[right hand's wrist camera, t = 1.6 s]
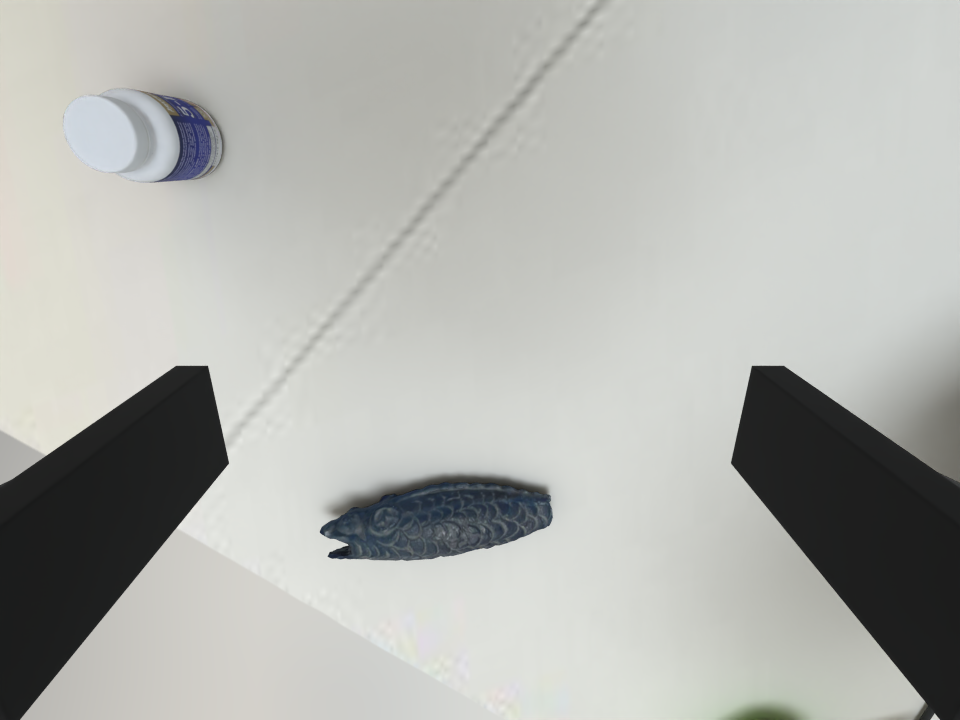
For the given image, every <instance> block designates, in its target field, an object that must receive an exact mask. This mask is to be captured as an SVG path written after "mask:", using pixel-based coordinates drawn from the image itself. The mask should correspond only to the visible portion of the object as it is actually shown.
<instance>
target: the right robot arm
mask: <svg viewBox="0 0 960 720" xmlns="http://www.w3.org/2000/svg"><path fill="white" fill-rule="evenodd" d="M228 464H229V461H228V456H227V452H226V447H225V442H224V438H223V433H222V429H221V424H220V419H219V415H218V410H217V405H216V401H215V396H214V392H213V387H212V382H211V378H210V373H209V368H208V366H175V367H174V368H172V369H171V370H170V371H168V372H167V373H165V374H164V375H162V376H161V377H159V378H158V379H157V380H155V381H154V382H152V383H151V384H149V385H148V386H146V387H145V388H144V389H142V390H141V391H139V392H138V393H136V394H135V395H133V396H132V397H131V398H129V399H128V400H126V401H125V402H123V403H122V404H120V405H119V406H118V407H116V408H115V409H113V410H112V411H110V412H109V413H107V414H106V415H105V416H103V417H102V418H100V419H99V420H97V421H96V422H94V423H93V424H92V425H90V426H89V427H87V428H86V429H84V430H83V431H81V432H80V433H79V434H77V435H76V436H74V437H73V438H71V439H70V440H68V441H67V442H66V443H64V444H63V445H61V446H60V447H58V448H57V449H55V450H54V451H53V452H51V453H50V454H48V455H47V456H45V457H44V458H42V459H41V460H40V461H38V462H37V463H35V464H34V465H32V466H31V467H30V468H28V469H27V470H25V471H24V472H22V473H21V474H19V475H18V476H16V477H15V478H14V479H12V480H10V481H8V482H6V483H4V484H2V485H0V720H20V719H21V718H22V716H23V715H24V714H25V713H26V711H27V710H28V709H29V708H30V707H31V705H32V704H33V703H34V702H35V700H36V699H37V698H38V697H39V696H40V694H41V693H42V692H43V691H44V689H45V688H46V687H47V686H48V685H49V683H50V682H51V681H52V680H53V678H54V677H55V676H56V675H57V674H58V672H59V671H60V670H61V669H62V667H63V666H64V665H65V664H66V663H67V661H68V660H69V659H70V658H71V656H72V655H73V654H74V653H75V651H76V650H77V649H78V648H79V647H80V645H81V644H82V643H83V642H84V640H85V639H86V638H87V637H88V636H89V634H90V633H91V632H92V631H93V629H94V628H95V627H96V626H97V624H98V623H99V622H100V621H101V620H102V618H103V617H104V616H105V615H106V613H107V612H108V611H109V610H110V609H111V607H112V606H113V605H114V604H115V602H116V601H117V600H118V599H119V598H120V596H121V595H122V594H123V593H124V591H125V590H126V589H127V588H128V587H129V585H130V584H131V583H132V582H133V580H134V579H135V578H136V577H137V575H138V574H139V573H140V572H141V571H142V569H143V568H144V567H145V566H146V564H147V563H148V562H149V561H150V560H151V558H152V557H153V556H154V555H155V553H156V552H157V551H158V550H159V548H160V547H161V546H162V545H163V543H164V542H165V541H166V540H167V539H168V537H169V536H170V535H171V534H172V533H173V531H174V530H175V529H176V528H177V526H178V525H179V524H180V523H181V522H182V520H183V519H184V518H185V517H186V515H187V514H188V513H189V512H190V510H191V509H192V508H193V507H194V506H195V504H196V503H197V502H198V501H199V499H200V498H201V497H202V496H203V495H204V493H205V492H206V491H207V490H208V488H209V487H210V486H211V485H212V484H213V482H214V481H215V480H216V479H217V477H218V476H219V475H220V474H221V472H222V471H223V470H224V469H225V468H226V466H227V465H228ZM731 464H732V465H733V466H734V468H735V469H736V470H737V471H738V472H739V474H740V475H741V476H742V477H743V479H744V480H745V481H746V482H747V484H748V485H749V486H750V487H751V488H752V490H753V491H754V492H755V493H756V495H757V496H758V497H759V498H760V499H761V501H762V502H763V503H764V504H765V506H766V507H767V508H768V509H769V511H770V512H771V513H772V514H773V515H774V517H775V518H776V519H777V520H778V522H779V523H780V524H781V525H782V526H783V528H784V529H785V530H786V531H787V533H788V534H789V535H790V536H791V537H792V539H793V540H794V541H795V542H796V544H797V545H798V546H799V547H800V549H801V550H802V551H803V552H804V553H805V555H806V556H807V557H808V558H809V560H810V561H811V562H812V563H813V564H814V566H815V567H816V568H817V569H818V571H819V572H820V573H821V574H822V575H823V577H824V578H825V579H826V580H827V582H828V583H829V584H830V585H831V587H832V588H833V589H834V590H835V591H836V593H837V594H838V595H839V596H840V598H841V599H842V600H843V601H844V602H845V604H846V605H847V606H848V607H849V609H850V610H851V611H852V612H853V613H854V615H855V616H856V617H857V618H858V620H859V621H860V622H861V623H862V625H863V626H864V627H865V628H866V629H867V631H868V632H869V633H870V634H871V636H872V637H873V638H874V639H875V640H876V642H877V643H878V644H879V645H880V647H881V648H882V649H883V650H884V651H885V653H886V654H887V655H888V656H889V658H890V659H891V660H892V661H893V663H894V664H895V665H896V666H897V667H898V669H899V670H900V671H901V672H902V674H903V675H904V676H905V677H906V678H907V680H908V681H909V682H910V683H911V685H912V686H913V687H914V688H915V689H916V691H917V692H918V693H919V694H920V696H921V697H922V698H923V699H924V701H925V702H926V703H927V704H928V705H929V707H930V708H931V709H932V710H933V712H934V713H935V714H936V715H937V716H938V718H939V719H940V720H960V483H959V482H957V481H955V480H953V479H951V478H948V477H946V476H944V475H942V474H940V473H938V472H936V471H935V470H933V469H932V468H931V467H929V466H928V465H926V464H925V463H923V462H922V461H920V460H919V459H918V458H916V457H915V456H913V455H912V454H910V453H909V452H907V451H906V450H905V449H903V448H902V447H900V446H899V445H897V444H896V443H894V442H893V441H892V440H890V439H889V438H887V437H886V436H884V435H883V434H881V433H880V432H879V431H877V430H876V429H874V428H873V427H871V426H870V425H868V424H867V423H866V422H864V421H863V420H861V419H860V418H858V417H857V416H855V415H854V414H853V413H851V412H850V411H848V410H847V409H845V408H844V407H842V406H841V405H840V404H838V403H837V402H835V401H834V400H832V399H831V398H829V397H828V396H827V395H825V394H824V393H822V392H821V391H819V390H818V389H816V388H815V387H814V386H812V385H811V384H809V383H808V382H806V381H805V380H803V379H802V378H801V377H799V376H798V375H796V374H795V373H793V372H792V371H790V370H789V369H788V368H786V367H785V366H752V368H751V373H750V378H749V382H748V387H747V391H746V396H745V401H744V405H743V410H742V415H741V419H740V424H739V429H738V433H737V438H736V442H735V447H734V452H733V456H732V461H731Z"/></svg>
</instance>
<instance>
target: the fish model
mask: <svg viewBox="0 0 960 720" xmlns="http://www.w3.org/2000/svg"><path fill="white" fill-rule="evenodd" d="M550 498H551V496H550V495H547V494H539V493H538V492H533V493H532V492H528V491H526V490H524V489H520V490H517V489H515V488H513V487H510V486H507V485H505V486H499V485H497V484H493V483H489V484H481V483H473V484H468V483H467V482H463V483H454V484H452V483H447V482H444V483H442V484H439V485H429V486H426V487H424V488H423V489H416V490H413V491H411V492H408V493H405V494H403V495H399V496H397V495H395V494H393V495H385V496H383V497H382V498H381V500H380V501H379V503H375V504H373V505H371V506H369V507H366V508H358V507H354V508H351V509H350V510H349V511H348V512H347V513H346V514H344V515H342V516H340V517H339V518H338V519H336V520H332V521H330V522H328V523H327V524H325V525H324V526H323V527H322V528H321V530H320V533H321V534H322V535H324V536H326V537H328V538H330V539H337V540H339V541H341V542H344V543H346V544H348V545H349V546H345V547H342V548H340V549H336V550H335V551H333V552H330V553H329V555H328V557H329V558H332V559H333V558H337V559H344V558H346V559H370V560H406V561H408V560H421V559H434V558H437V557H439V556H443V557H445V556H454V555H458V554H462V553H465V552H468V551H473V550H475V549H481V548H486V549H488V548H491V547H493V546H495V545H502V544H505V543H508V542H511V541H515V540H517V539H518V538H520V537H524V536H527V535H529V534H531V533H532V532H534V531H537V530H540V529H544V528H546V527H547V526H549V525H550V523H551V521H552V518H553V516H552V508H551V506H550V503H549V502H550V501H551V499H550Z"/></svg>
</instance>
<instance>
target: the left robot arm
mask: <svg viewBox="0 0 960 720" xmlns="http://www.w3.org/2000/svg"><path fill="white" fill-rule="evenodd" d="M933 715H934V712H933V710H932V709H931V708H930V707H929V705H928V707H927V708H926V710H925V712H924V713H923V715H922V716H921V718H920V719H919V720H930V719H931V718H932V716H933Z"/></svg>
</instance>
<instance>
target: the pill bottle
mask: <svg viewBox="0 0 960 720" xmlns="http://www.w3.org/2000/svg"><path fill="white" fill-rule="evenodd" d="M63 130H64V134H65V138H66V140H67V142H68V145H69V146H70V148H71V150H72V151H73V153H74V154H75V155H76V156H77V157H78V158H79V159H80V160H81V161H82V162H83V163H85V164H86V165H87V166H89V167H91V168H93V169H95V170H98V171H101V172H105V173H115V174H117V175H119V176H121V177H123V178H125V179H128V180H131V181H135V182H150V183H151V182H164V181H177V180H193V179H199V178H202V177H205V176H207V175H208V174H210V173H211V172H212V171H213V170H214V169H215V168H216V167H217V165H218V163H219V161H220V158H221V154H222V140H221V136H220V132H219V130H218V128H217V126H216V124H215V122H214V121H213V119H212V118H211V117H210V115H209V114H208V113H207V112H206V111H205V110H203V109H202V108H201V107H199V106H198V105H196V104H194V103H192V102H190V101H187V100H184V99H179V98H174V97H169V96H163V95H158V94H153V93H148V92H143V91H139V90H133V89H126V88H118V89H111V90H108V91H106V92H104V93H102V94H100V95H85V96H81V97H79V98H76V99H75V100H74V101H72V102H71V103H70V104H69V106H68V107H67V109H66V111H65V113H64V118H63Z"/></svg>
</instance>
